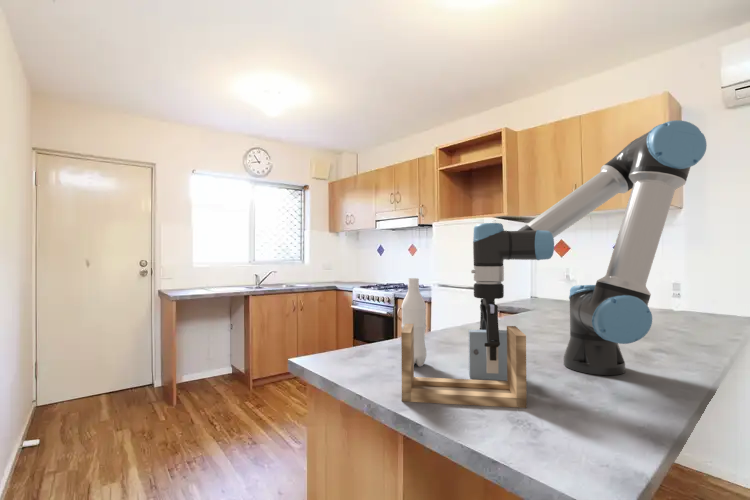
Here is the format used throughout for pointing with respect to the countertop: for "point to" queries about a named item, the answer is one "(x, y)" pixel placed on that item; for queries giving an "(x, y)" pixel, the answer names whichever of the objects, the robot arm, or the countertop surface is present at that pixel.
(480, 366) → the door panel
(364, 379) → the countertop surface
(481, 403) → the door frame
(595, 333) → the robot arm
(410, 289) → the water bottle
